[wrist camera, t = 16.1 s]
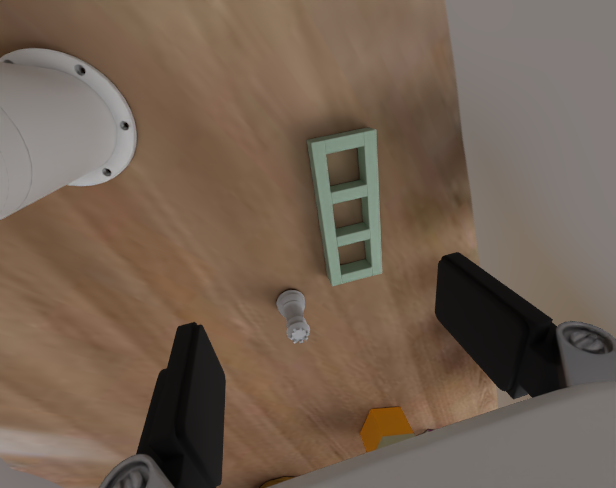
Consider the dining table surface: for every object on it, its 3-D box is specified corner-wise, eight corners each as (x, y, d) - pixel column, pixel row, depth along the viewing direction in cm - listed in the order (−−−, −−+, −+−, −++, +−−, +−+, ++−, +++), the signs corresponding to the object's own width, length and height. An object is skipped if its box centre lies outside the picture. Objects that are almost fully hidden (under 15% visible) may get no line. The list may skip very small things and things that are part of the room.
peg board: (327, 277, 46) (332, 286, 43) (306, 139, 36) (310, 142, 33) (375, 264, 47) (382, 273, 44) (368, 127, 36) (376, 129, 34)
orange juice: (359, 433, 68) (401, 551, 50) (370, 408, 64) (419, 525, 47) (388, 430, 70) (438, 542, 53) (401, 406, 66) (459, 517, 49)
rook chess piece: (309, 297, 47) (322, 333, 40) (290, 315, 48) (299, 353, 41) (290, 283, 45) (300, 318, 38) (270, 302, 45) (276, 339, 38)
